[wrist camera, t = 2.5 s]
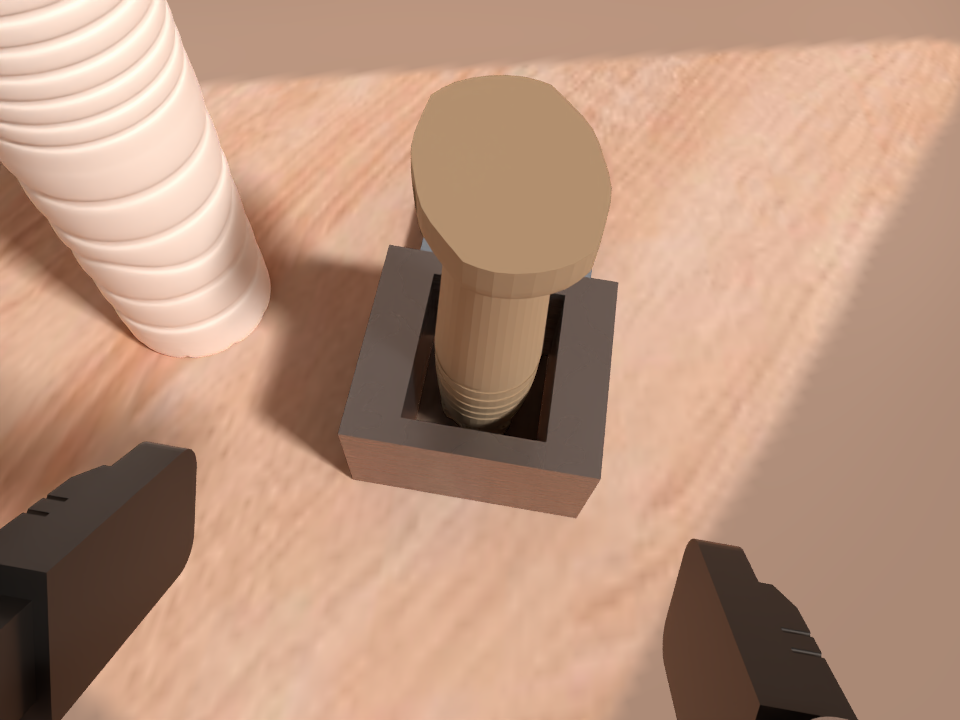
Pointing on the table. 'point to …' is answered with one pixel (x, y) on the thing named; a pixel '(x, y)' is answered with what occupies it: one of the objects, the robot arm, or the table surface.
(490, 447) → the socket block
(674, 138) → the table surface
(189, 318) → the water bottle
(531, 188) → the handle
